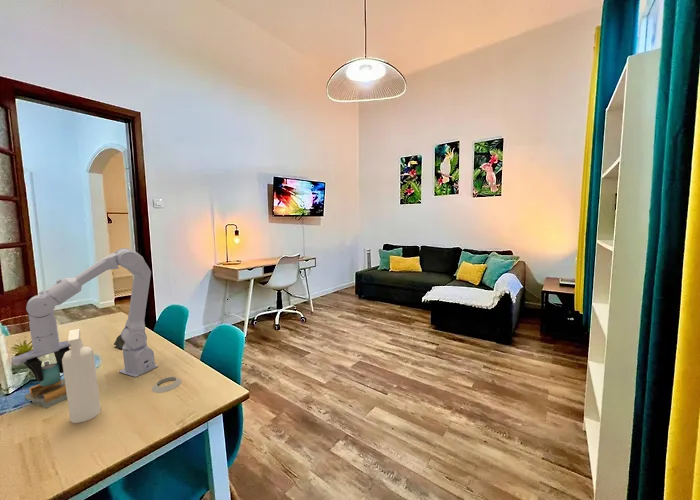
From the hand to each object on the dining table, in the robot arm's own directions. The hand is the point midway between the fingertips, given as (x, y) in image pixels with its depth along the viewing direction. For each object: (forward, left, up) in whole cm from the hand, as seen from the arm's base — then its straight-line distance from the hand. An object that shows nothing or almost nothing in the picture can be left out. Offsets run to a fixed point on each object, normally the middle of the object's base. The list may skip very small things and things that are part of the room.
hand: (50, 376), depth 93 cm
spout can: (0, 0, -2) cm, 2 cm away
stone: (+20, -33, -7) cm, 39 cm away
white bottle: (-20, +1, -7) cm, 21 cm away
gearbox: (0, -1, -6) cm, 7 cm away
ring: (-28, -17, -7) cm, 34 cm away
